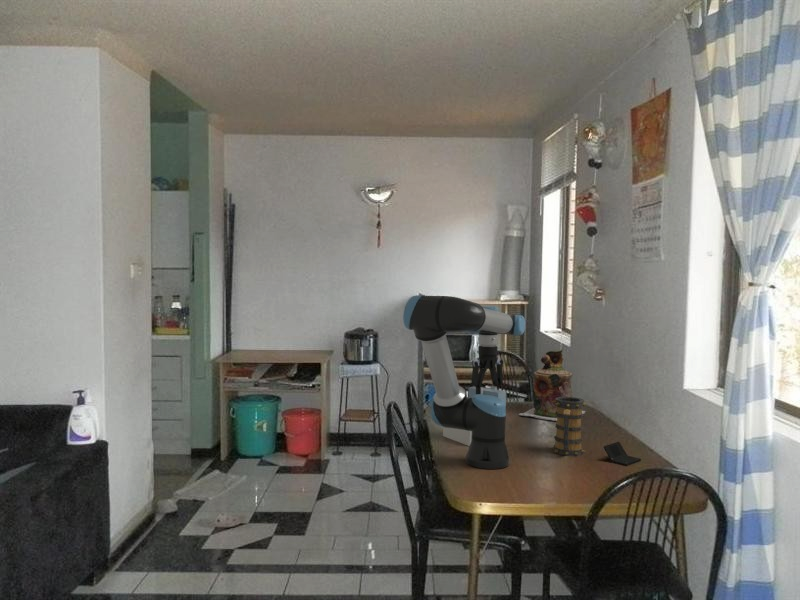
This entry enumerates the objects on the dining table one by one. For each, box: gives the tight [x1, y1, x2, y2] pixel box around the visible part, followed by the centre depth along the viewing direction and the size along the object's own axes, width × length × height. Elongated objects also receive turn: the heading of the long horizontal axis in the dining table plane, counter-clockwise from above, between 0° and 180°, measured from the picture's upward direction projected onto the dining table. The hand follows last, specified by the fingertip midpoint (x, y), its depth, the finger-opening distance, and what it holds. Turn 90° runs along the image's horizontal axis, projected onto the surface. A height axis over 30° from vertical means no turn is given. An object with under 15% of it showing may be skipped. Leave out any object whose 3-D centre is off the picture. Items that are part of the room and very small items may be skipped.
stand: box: [442, 426, 472, 447], centre depth 265 cm, size 14×18×7 cm
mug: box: [550, 396, 588, 457], centre depth 246 cm, size 13×17×20 cm
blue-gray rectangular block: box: [467, 386, 507, 407], centre depth 262 cm, size 5×15×6 cm, turn 43°
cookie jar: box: [518, 348, 586, 422], centre depth 312 cm, size 25×25×32 cm
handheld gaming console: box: [603, 441, 642, 467], centre depth 239 cm, size 12×7×10 cm
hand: (486, 403), depth 262 cm, fingers closed on blue-gray rectangular block, 6 cm apart
